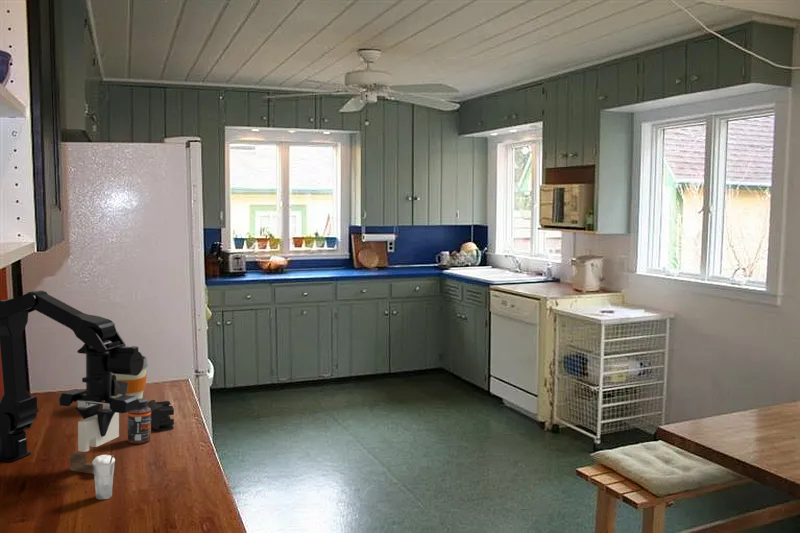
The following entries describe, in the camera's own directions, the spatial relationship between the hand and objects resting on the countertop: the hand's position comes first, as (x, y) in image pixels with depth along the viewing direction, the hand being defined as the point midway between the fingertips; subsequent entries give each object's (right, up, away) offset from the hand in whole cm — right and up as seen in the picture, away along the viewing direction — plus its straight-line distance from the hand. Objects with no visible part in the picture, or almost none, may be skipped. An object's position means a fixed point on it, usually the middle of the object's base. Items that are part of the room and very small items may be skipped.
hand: (99, 435), depth 171 cm
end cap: (+3, -6, +33) cm, 34 cm away
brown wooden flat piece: (-1, -8, -3) cm, 9 cm away
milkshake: (+8, -10, -17) cm, 21 cm away
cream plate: (0, -2, 0) cm, 2 cm away
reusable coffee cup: (-14, -3, +54) cm, 56 cm away
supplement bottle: (+2, -7, +20) cm, 21 cm away
